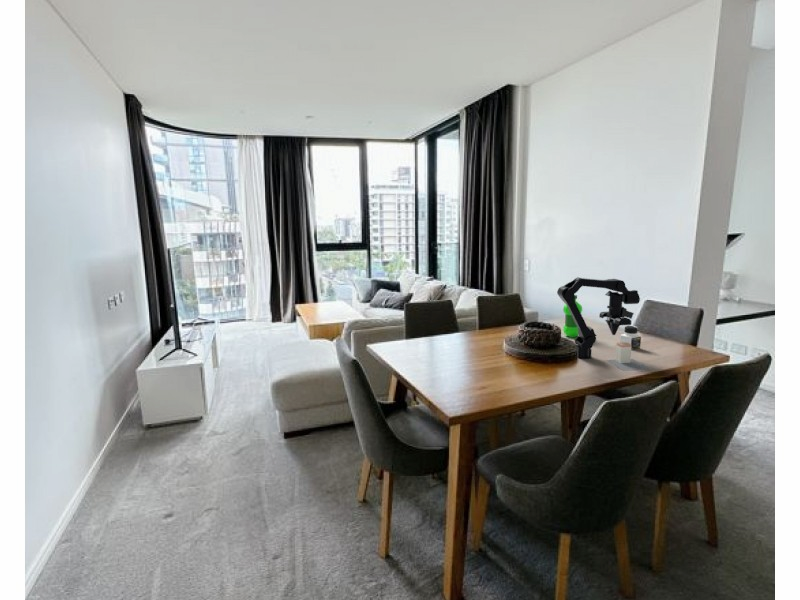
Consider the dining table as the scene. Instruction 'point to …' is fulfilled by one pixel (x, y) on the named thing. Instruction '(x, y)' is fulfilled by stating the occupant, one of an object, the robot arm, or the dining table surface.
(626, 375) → the dining table surface
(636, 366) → the gray mat
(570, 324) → the plastic bottle
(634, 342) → the medicine bottle
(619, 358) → the cream block
